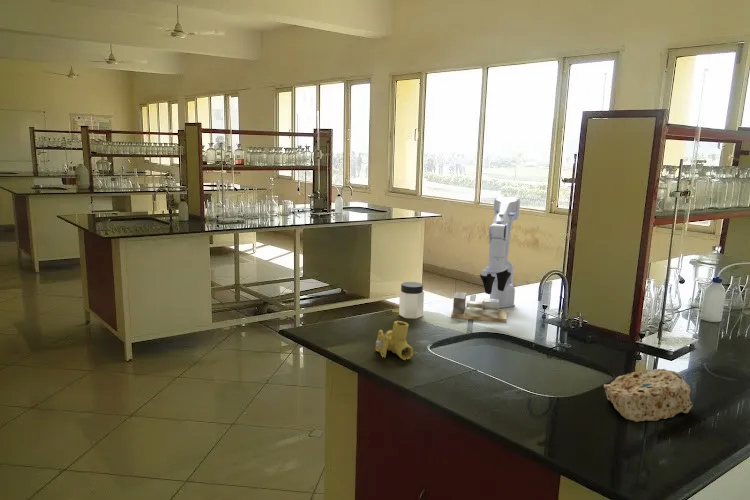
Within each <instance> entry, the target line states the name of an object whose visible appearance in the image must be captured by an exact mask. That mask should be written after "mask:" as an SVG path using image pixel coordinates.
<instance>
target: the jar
mask: <svg viewBox="0 0 750 500" xmlns="http://www.w3.org/2000/svg"><path fill="white" fill-rule="evenodd" d="M400 287H401V288H400V291H399V303H398V305H399V310H398V315H399V316H401V317H403V318H404V319H414V320H415V319H420V317H421V318H422V317H423V316H424V301H425V300H424V297H425V292H424V284H422V283H421V282H417V281H406V282H405V281H404V282H402V283H401V284H400Z"/></svg>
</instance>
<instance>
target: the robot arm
mask: <svg viewBox="0 0 750 500" xmlns="http://www.w3.org/2000/svg"><path fill="white" fill-rule="evenodd" d="M495 196H496V195H495ZM520 208H521V198H519V197H517V196H516V197H513V196H512V197H510V196H509V197H508V196H496V197H494V201H493V211H494V216H493V221H492V224H490V225H489V227H488V245H489V247H488V262H487V263H488V265H487V266H485V268H484V269H481V272H480V275H479V277H480V279H481V281H482V284H483V287H484V293H485V294H488V295H489V298H493V299H499V309H503V308H510V307H515V306H516V304H515V297H516V296H515V295H516V294H515V293H516V290H515V286H514V284H513V283H514V282H513V281H514V275H515V273H514V272H515V271H514V269H515V267H514V264H513V263H512V262H510V260H509V251H510V250H509V249H510V242H511V231H512V226H513V223H514V221H517V220H519V214H520Z"/></svg>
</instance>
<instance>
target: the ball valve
mask: <svg viewBox="0 0 750 500" xmlns="http://www.w3.org/2000/svg"><path fill="white" fill-rule="evenodd" d="M409 326H410V325H409V323H408V322H406V321H401V320H395V321H394V322H393V325H392V329H389V330H387V331H386V332H385V333H384V331H383V329H379V330H378V333H377V338H376V341H375V352H376V351H377V352H379V353H380V357H381V356H382V358H383V357H384V358H383V359H385V358H386V356H387V351H389V352H390V351H391V352H392V353H393V354H396V355H397V356H398V357H399V358H400V359H402V360H404V361H406V359H407V360H409V359H411V358H412V356H413V355H414V348H413V347H412V346H410V344H408V341H407V336H408V331H409Z"/></svg>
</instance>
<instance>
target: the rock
mask: <svg viewBox="0 0 750 500" xmlns="http://www.w3.org/2000/svg"><path fill="white" fill-rule="evenodd" d="M603 388H604V392H605V394H606V399H607V400H608V401H610V402H611V403H612V404H613V407H614V409H615V410H616V411H617V412H618V413H619V414H620V415H621V416H622V418H624V419H625V420H629V421H632V422H634V423H635V422H636V423H639V422H645V421H649V422H650V421H652V422H653V421H654V422H657V421H659V420H660V419H665V420H666V419H668V418H669V419H671V418H674V417H675V416H676V415H678V414H679V413H682V414H688V413H689V412H690V410H691V409H692V407H693V402H692V401H691V398H690V394H691V387H690V385H689V384H688V383H687V382H686V381H685V380H684V379H683V377H682V375H681V373H679V372H677V371H673V370H668V369H665V368H654V369H652V370H647V369H646V368H644V369H642V370H640V371H633V372H629V373H626V374H623V375H619V376H617V377H615V379H614V380H613V381H611V382H610V383H609V384H605V383H604V384H603Z"/></svg>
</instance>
